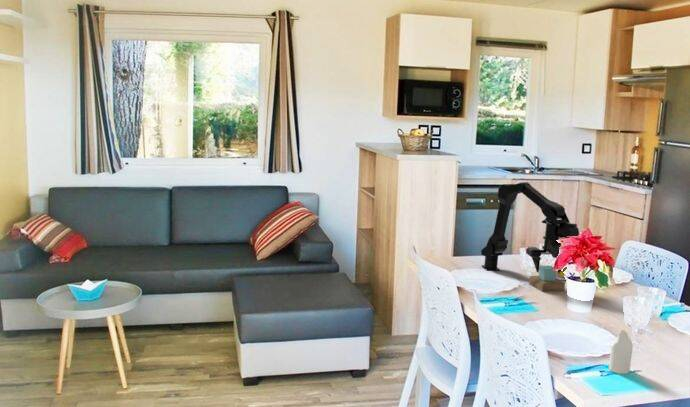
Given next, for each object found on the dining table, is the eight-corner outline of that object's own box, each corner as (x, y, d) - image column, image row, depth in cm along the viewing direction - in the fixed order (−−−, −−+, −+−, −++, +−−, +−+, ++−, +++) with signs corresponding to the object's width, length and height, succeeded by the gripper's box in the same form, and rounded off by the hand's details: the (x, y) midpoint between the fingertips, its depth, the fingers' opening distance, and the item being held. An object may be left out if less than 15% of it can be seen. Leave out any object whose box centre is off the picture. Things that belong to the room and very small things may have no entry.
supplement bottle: (553, 279, 269) (556, 250, 266) (552, 275, 275) (556, 247, 273) (569, 281, 267) (573, 252, 264) (568, 277, 273) (572, 249, 271)
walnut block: (529, 285, 260) (530, 276, 259) (550, 284, 262) (551, 275, 262) (542, 292, 250) (543, 283, 250) (563, 292, 253) (565, 282, 252)
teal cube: (538, 277, 258) (539, 265, 257) (549, 277, 259) (551, 265, 258) (544, 280, 253) (545, 269, 252) (555, 280, 254) (556, 269, 253)
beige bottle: (625, 335, 174) (608, 328, 179) (620, 375, 177) (603, 367, 181) (639, 332, 177) (622, 326, 182) (633, 372, 179) (617, 364, 184)
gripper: (539, 240, 243) (535, 278, 246) (583, 240, 246) (579, 278, 249) (527, 233, 254) (523, 270, 257) (570, 234, 257) (565, 270, 260)
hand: (548, 272), depth 255 cm, fingers open, 9 cm apart
